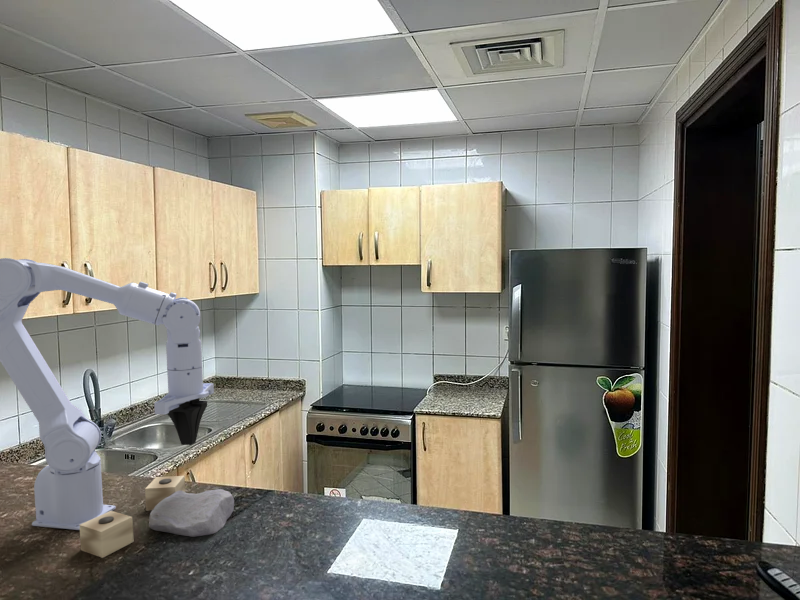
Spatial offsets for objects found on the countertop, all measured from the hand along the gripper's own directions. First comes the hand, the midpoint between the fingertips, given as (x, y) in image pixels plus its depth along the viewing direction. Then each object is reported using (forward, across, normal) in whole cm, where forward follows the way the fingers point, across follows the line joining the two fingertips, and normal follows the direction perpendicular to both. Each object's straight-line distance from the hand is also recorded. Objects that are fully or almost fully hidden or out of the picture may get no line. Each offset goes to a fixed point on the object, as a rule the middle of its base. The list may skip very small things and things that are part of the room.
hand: (188, 443), depth 94 cm
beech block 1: (+11, -16, +4) cm, 20 cm away
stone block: (+11, -7, -5) cm, 14 cm away
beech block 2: (+11, -2, +4) cm, 11 cm away
